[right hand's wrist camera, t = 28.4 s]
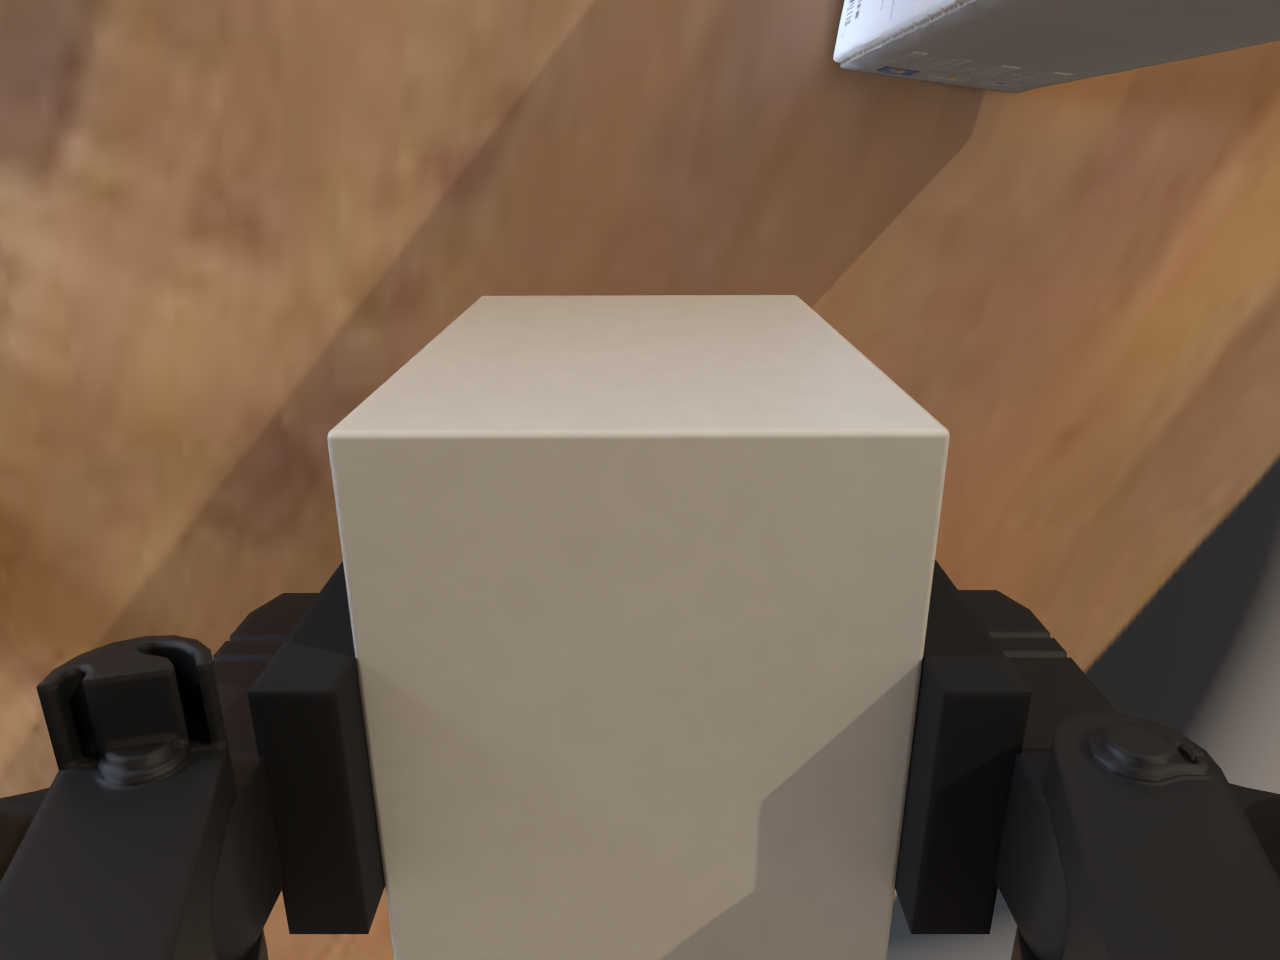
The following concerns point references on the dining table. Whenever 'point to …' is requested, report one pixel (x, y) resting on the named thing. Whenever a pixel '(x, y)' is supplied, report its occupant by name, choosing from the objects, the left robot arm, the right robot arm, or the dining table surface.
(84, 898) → the right robot arm
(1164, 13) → the hard drive box
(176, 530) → the dining table surface
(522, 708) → the brick
